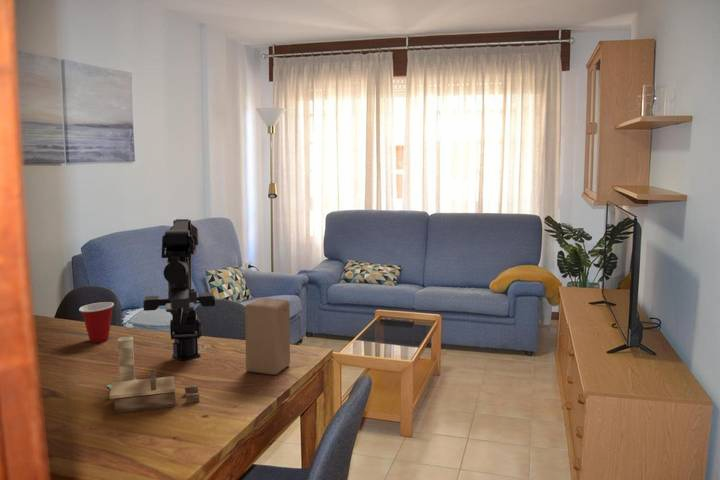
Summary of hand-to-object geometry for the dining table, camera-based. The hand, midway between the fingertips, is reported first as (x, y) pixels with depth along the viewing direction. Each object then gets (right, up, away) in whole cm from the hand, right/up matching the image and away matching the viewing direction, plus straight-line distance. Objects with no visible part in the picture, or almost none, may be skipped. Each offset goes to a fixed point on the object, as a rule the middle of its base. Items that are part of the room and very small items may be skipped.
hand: (180, 331), depth 170 cm
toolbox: (-1, -15, -15) cm, 21 cm away
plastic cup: (-38, -8, +35) cm, 52 cm away
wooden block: (+23, -12, +9) cm, 28 cm away
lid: (-5, -12, -16) cm, 21 cm away
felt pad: (-13, -14, -5) cm, 20 cm away
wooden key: (-13, -14, -5) cm, 19 cm away
